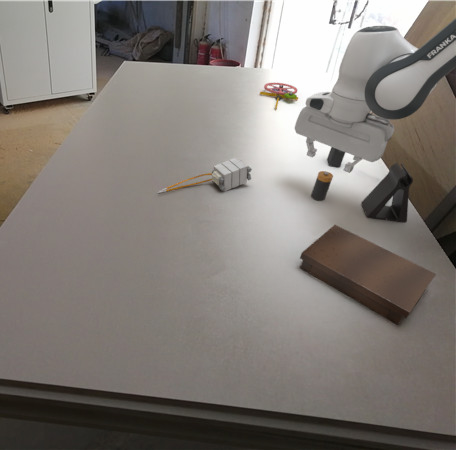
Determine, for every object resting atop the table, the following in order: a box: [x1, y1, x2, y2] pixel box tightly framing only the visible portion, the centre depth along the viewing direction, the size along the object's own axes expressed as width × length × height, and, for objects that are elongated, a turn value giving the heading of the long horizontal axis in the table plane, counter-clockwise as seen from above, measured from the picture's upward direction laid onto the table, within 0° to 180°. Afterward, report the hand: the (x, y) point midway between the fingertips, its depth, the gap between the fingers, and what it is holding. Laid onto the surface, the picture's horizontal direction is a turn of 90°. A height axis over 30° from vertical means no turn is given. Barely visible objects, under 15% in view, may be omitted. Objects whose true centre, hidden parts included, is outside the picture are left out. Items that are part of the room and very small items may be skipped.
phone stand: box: [360, 162, 414, 223], centre depth 94 cm, size 9×6×12 cm, turn 80°
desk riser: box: [299, 224, 437, 325], centre depth 78 cm, size 20×14×4 cm
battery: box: [310, 170, 334, 202], centre depth 100 cm, size 3×3×7 cm
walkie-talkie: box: [326, 146, 346, 168], centre depth 112 cm, size 5×3×20 cm
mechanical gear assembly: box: [259, 82, 299, 110], centre depth 160 cm, size 30×4×15 cm
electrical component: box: [157, 157, 253, 194], centre depth 101 cm, size 24×6×5 cm, turn 115°
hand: (328, 163), depth 96 cm, fingers open, 8 cm apart
